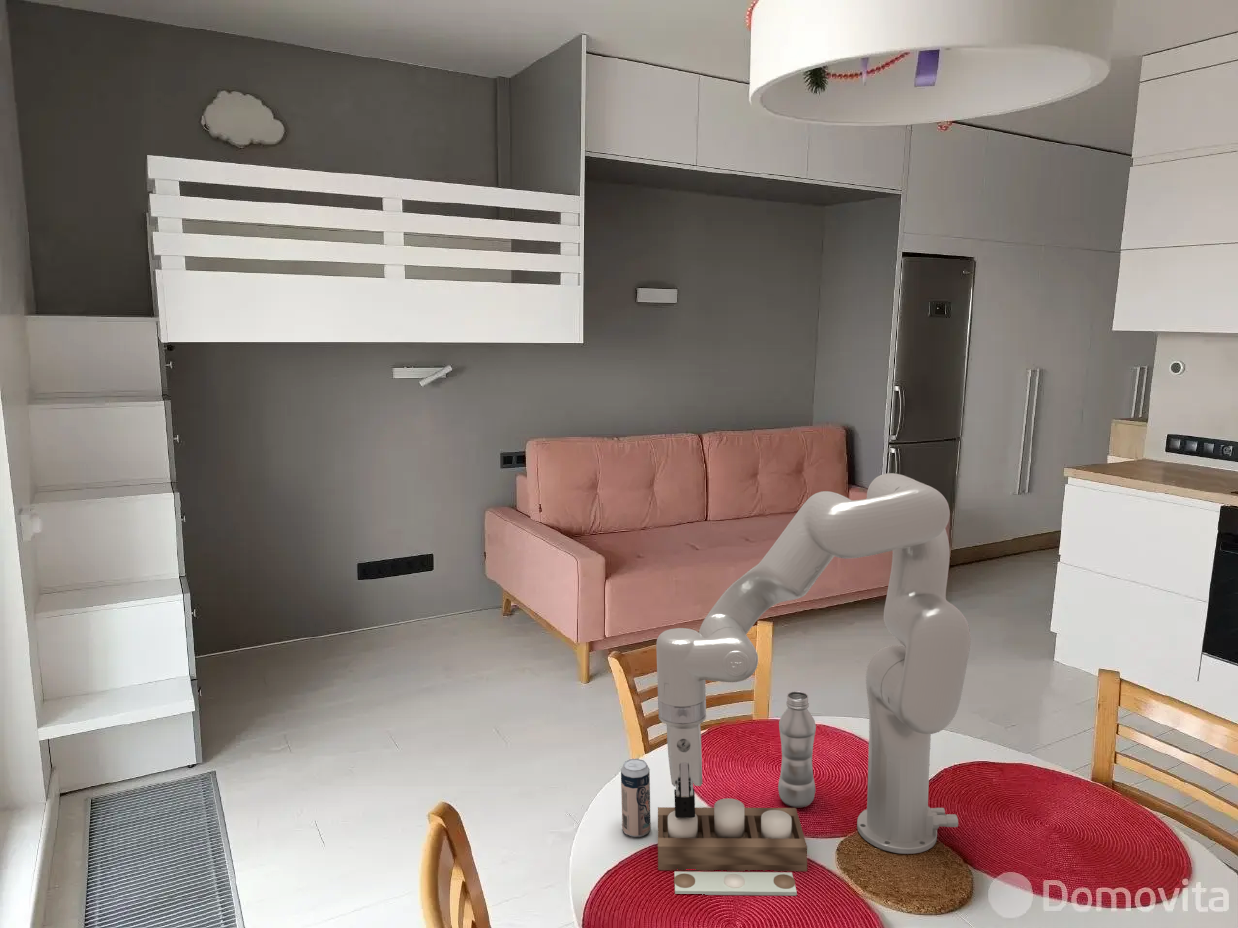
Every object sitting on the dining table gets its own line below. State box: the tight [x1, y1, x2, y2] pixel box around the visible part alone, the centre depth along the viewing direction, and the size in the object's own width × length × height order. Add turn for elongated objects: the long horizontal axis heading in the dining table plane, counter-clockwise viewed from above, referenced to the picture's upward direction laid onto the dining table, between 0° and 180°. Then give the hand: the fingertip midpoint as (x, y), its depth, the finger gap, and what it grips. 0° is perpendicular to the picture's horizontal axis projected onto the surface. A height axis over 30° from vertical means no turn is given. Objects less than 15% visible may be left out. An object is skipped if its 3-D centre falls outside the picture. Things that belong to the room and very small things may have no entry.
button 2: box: [761, 810, 792, 839], centre depth 137 cm, size 5×5×4 cm
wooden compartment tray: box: [657, 806, 808, 872], centre depth 138 cm, size 23×11×4 cm, turn 87°
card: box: [673, 870, 798, 897], centre depth 129 cm, size 18×5×1 cm, turn 87°
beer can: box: [620, 758, 652, 838], centre depth 143 cm, size 5×5×12 cm
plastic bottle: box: [777, 690, 817, 809], centre depth 150 cm, size 6×7×20 cm
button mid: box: [713, 797, 745, 838], centre depth 137 cm, size 5×5×4 cm
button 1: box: [668, 811, 698, 838], centre depth 138 cm, size 5×5×4 cm
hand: (685, 814), depth 138 cm, fingers closed
